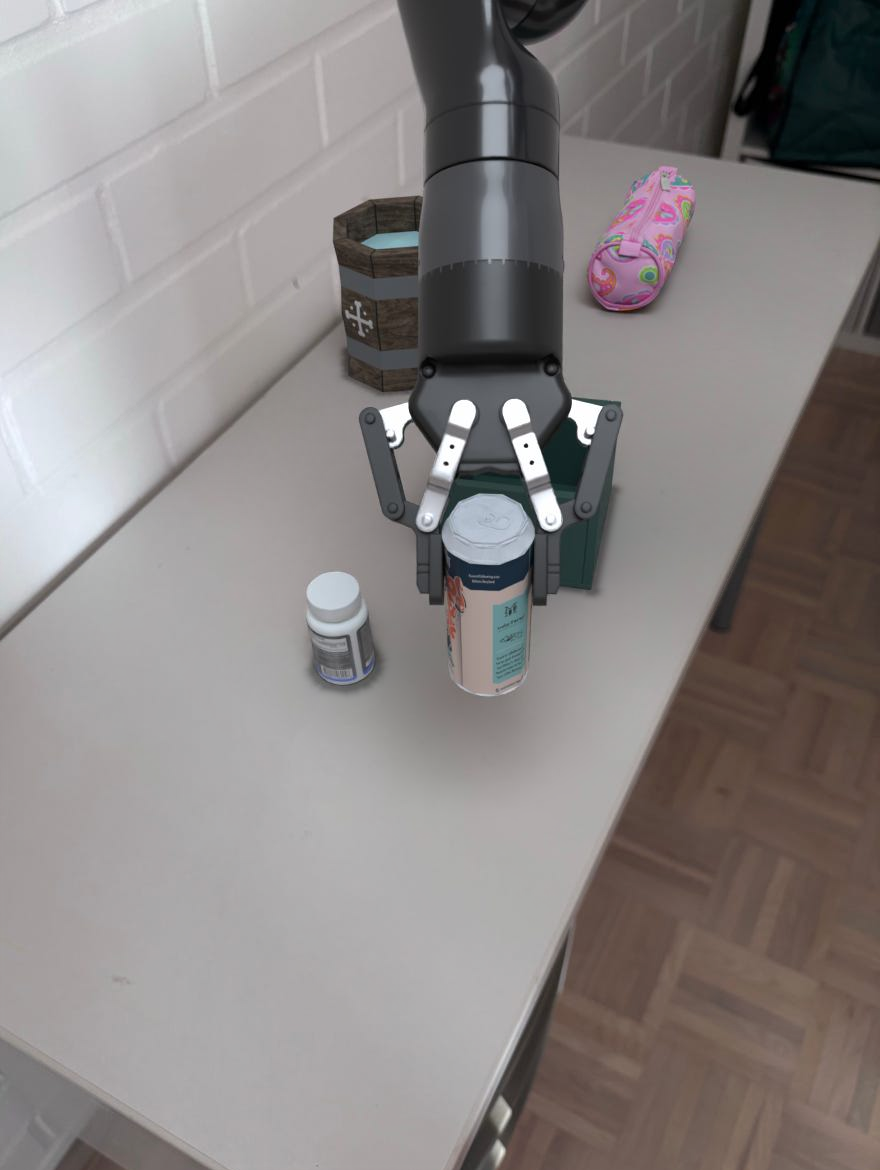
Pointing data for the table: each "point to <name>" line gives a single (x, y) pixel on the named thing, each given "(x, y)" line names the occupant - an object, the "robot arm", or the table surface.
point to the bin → (564, 474)
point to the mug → (380, 289)
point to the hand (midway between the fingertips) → (488, 603)
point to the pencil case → (642, 241)
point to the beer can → (488, 593)
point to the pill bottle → (339, 628)
